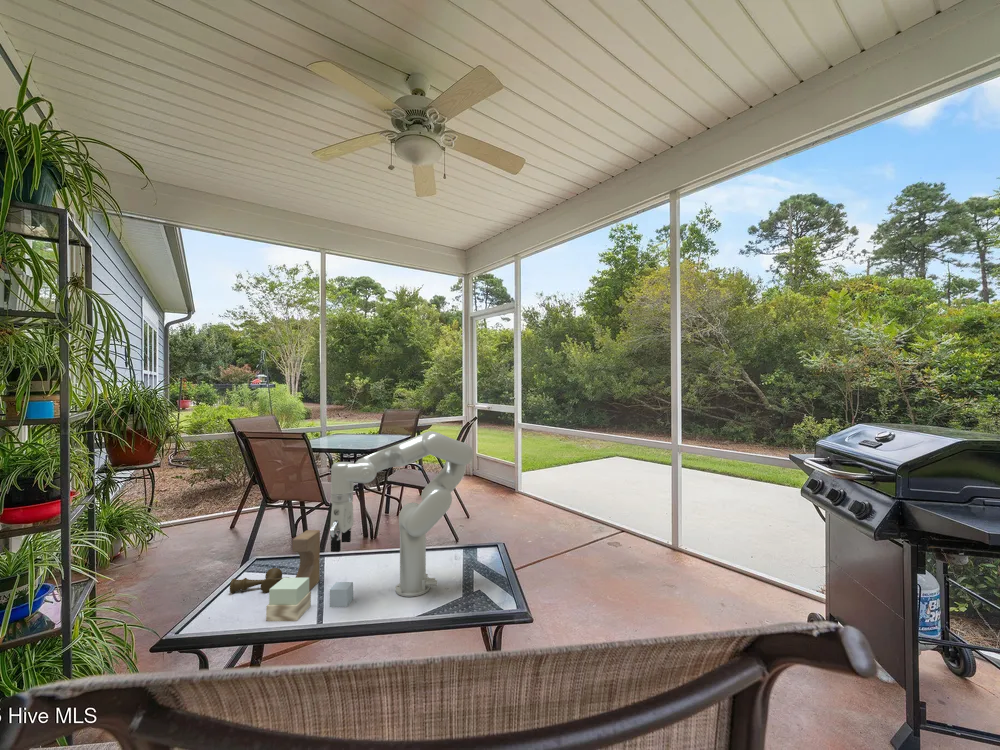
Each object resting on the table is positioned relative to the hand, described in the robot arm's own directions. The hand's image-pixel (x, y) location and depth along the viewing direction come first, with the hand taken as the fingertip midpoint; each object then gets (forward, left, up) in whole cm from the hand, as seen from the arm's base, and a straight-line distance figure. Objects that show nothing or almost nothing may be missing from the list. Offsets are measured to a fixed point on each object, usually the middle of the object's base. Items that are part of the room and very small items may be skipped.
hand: (340, 546), depth 152 cm
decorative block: (+18, -12, -20) cm, 29 cm away
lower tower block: (+15, +7, -20) cm, 26 cm away
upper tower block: (+15, +7, -15) cm, 22 cm away
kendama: (+35, -12, -20) cm, 42 cm away
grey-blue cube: (0, 0, -20) cm, 20 cm away
